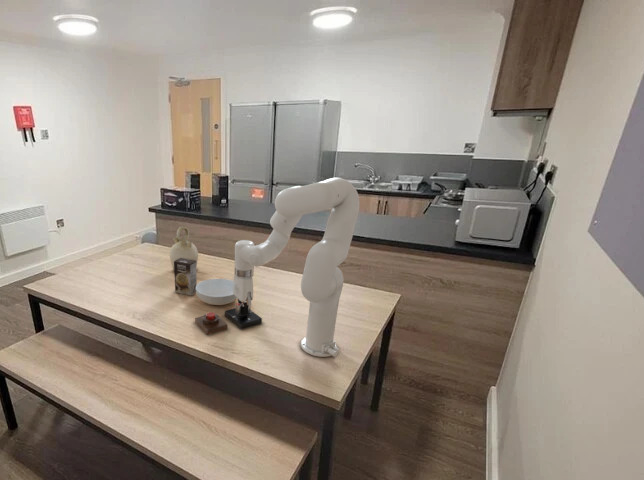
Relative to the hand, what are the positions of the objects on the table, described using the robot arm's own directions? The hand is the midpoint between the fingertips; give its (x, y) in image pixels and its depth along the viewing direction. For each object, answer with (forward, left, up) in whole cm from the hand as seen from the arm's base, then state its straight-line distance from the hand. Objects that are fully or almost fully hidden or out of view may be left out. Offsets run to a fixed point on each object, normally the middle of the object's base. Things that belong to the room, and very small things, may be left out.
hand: (242, 312), depth 156 cm
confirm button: (+2, +14, 0) cm, 14 cm away
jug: (+63, -2, -4) cm, 63 cm away
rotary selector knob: (0, 0, -1) cm, 1 cm away
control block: (+2, +14, -3) cm, 14 cm away
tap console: (0, 0, -3) cm, 3 cm away
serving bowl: (+21, 0, -4) cm, 21 cm away
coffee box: (+37, +9, -4) cm, 38 cm away
